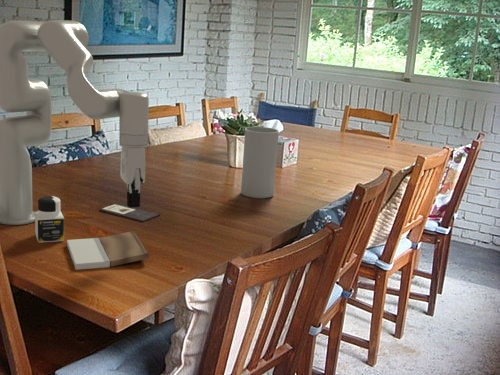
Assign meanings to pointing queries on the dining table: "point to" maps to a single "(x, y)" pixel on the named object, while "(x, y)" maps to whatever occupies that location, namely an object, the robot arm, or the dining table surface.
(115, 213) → the chocolate bar
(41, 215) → the medicine bottle
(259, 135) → the cylinder vase
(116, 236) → the plank
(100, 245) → the laid board
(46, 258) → the dining table surface
